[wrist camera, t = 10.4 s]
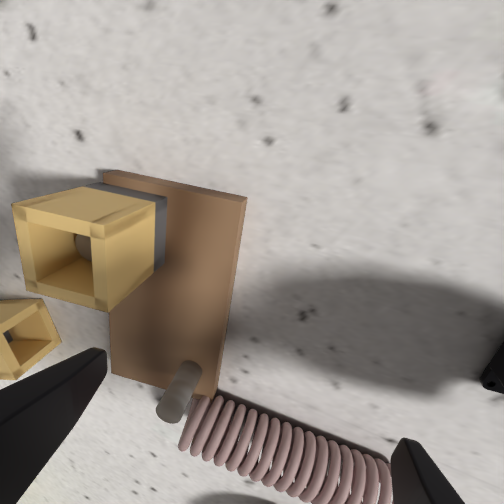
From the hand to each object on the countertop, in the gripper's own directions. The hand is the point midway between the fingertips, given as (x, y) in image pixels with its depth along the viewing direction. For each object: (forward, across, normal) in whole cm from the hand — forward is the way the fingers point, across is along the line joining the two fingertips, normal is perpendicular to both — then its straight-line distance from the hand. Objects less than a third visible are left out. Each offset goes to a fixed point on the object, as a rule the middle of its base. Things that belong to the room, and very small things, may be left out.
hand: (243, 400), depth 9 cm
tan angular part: (+10, +24, +14) cm, 30 cm away
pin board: (+12, +8, +6) cm, 15 cm away
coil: (+12, -4, +17) cm, 21 cm away
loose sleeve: (+10, +10, 0) cm, 14 cm away
